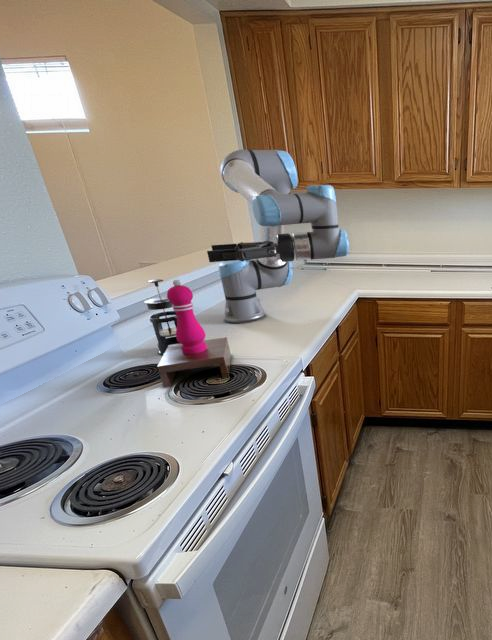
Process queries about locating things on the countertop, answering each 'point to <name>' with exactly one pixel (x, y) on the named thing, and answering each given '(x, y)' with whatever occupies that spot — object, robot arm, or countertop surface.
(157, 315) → the french press
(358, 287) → the countertop surface
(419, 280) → the countertop surface
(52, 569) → the countertop surface
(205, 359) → the shelf
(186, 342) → the pepper mill
